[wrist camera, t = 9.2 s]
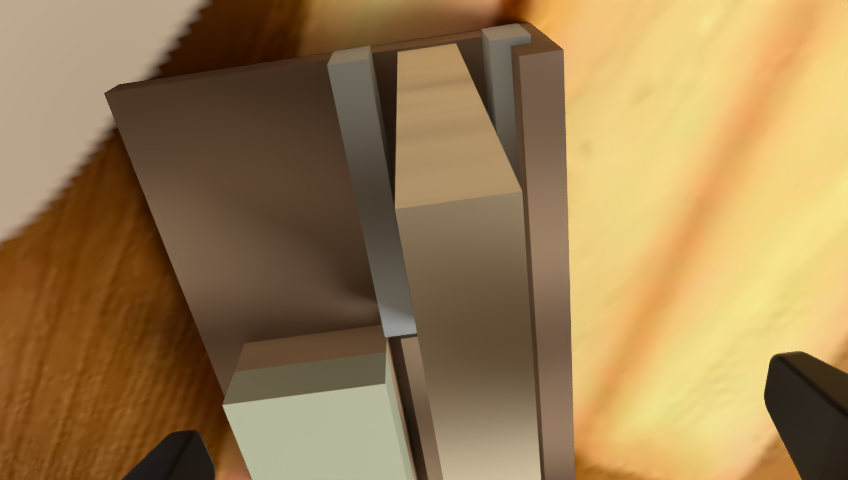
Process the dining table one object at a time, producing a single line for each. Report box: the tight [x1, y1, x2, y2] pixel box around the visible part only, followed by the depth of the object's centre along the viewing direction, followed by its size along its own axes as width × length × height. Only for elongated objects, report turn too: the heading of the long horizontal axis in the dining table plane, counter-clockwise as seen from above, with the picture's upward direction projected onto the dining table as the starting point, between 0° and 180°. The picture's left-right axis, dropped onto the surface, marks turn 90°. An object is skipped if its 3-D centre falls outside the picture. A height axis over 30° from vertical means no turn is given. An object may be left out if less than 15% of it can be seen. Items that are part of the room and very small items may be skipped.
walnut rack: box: [104, 22, 575, 480], centre depth 19 cm, size 17×12×4 cm
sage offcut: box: [222, 352, 414, 480], centre depth 21 cm, size 8×5×2 cm, turn 8°
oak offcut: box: [234, 325, 419, 480], centre depth 22 cm, size 8×5×2 cm, turn 8°
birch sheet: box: [395, 43, 541, 480], centre depth 14 cm, size 8×2×10 cm, turn 8°
